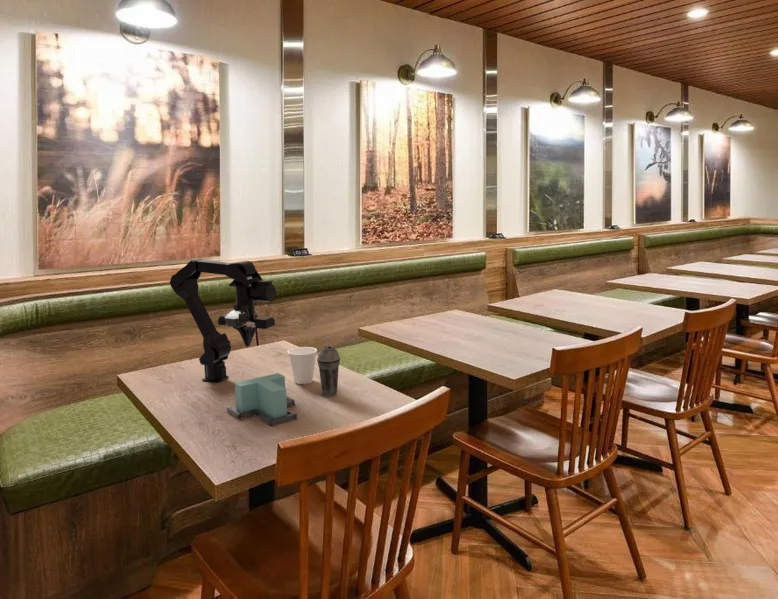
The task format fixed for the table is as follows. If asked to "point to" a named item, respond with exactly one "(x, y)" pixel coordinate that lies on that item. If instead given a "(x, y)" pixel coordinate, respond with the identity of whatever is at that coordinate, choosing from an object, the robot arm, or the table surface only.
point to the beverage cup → (328, 370)
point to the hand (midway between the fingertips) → (247, 346)
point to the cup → (302, 364)
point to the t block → (262, 395)
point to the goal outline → (264, 417)
